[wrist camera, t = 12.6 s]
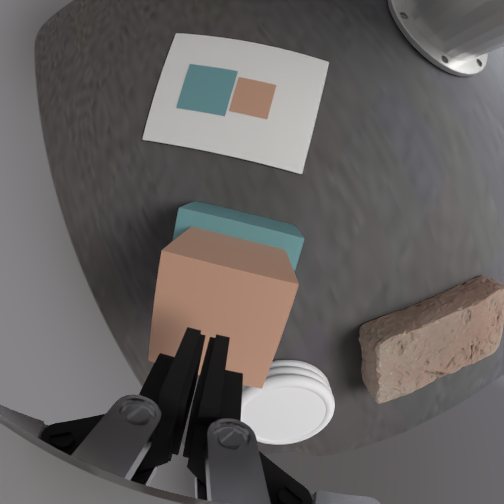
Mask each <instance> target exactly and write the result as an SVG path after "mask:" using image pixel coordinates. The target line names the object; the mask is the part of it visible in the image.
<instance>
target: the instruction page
mask: <svg viewBox="0 0 504 504" xmlns="http://www.w3.org/2000/svg"><path fill="white" fill-rule="evenodd" d="M328 65H329V62H327V61H324V60H321V59H317V58H314V57H311V56H307V55H304V54H300V53H296V52H293V51H289V50H285V49H281V48H276V47H272V46H267V45H263V44H258V43H252V42H247V41H241V40H235V39H228V38H221V37H213V36H205V35H194V34H180V33H176V35H175V37H174V40H173V42H172V45H171V48H170V50H169V53H168V56H167V59H166V61H165V64H164V67H163V70H162V73H161V76H160V79H159V82H158V85H157V88H156V92H155V95H154V98H153V102H152V105H151V109H150V112H149V116H148V119H147V123H146V127H145V131H144V135H143V139H142V140H147V141H153V142H160V143H165V144H171V145H177V146H182V147H188V148H193V149H198V150H203V151H208V152H213V153H218V154H222V155H227V156H231V157H236V158H240V159H244V160H248V161H253V162H257V163H261V164H265V165H269V166H272V167H276V168H280V169H284V170H287V171H291V172H295V173H298V174H302V172H303V168H304V164H305V160H306V156H307V152H308V149H309V145H310V141H311V137H312V133H313V129H314V125H315V120H316V116H317V112H318V108H319V104H320V100H321V96H322V91H323V87H324V83H325V79H326V74H327V70H328Z"/></svg>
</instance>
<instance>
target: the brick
mask: <svg viewBox="0 0 504 504" xmlns="http://www.w3.org/2000/svg"><path fill="white" fill-rule="evenodd" d="M503 323H504V285H503V284H500V283H499V282H497V281H496V280H493V279H491V278H489V277H486V276H478V277H476V278H474V279H471V280H468V281H467V282H466V283H465V284H464V285H457V286H455V287H454V288H452V289H449V290H447V291H445V292H443V293H440V294H437V295H435V296H434V297H432V298H428V299H426V300H424V301H422V302H420V303H417V304H415V305H412V306H409V307H407V308H405V309H403V310H400V311H396V312H393V313H390V314H387V315H385V316H382V317H380V318H378V319H375V320H372V321H369V322H367V323H365V324H363V325H362V326H360V331H359V334H360V337H359V342H360V345H361V350H362V368H361V374H362V380H363V382H364V384H365V385H366V387H367V389H368V391H369V393H371V396H372V398H373V399H374V400H375V401H376V402H377V403H378V404H380V403H384V402H387V401H390V400H392V399H396V398H398V397H401V396H405V395H407V394H409V393H412V392H413V391H415V390H417V389H420V388H422V387H423V386H425V385H427V384H429V383H431V382H432V381H434V380H435V379H436V378H440V377H442V376H444V375H446V374H451V373H454V372H456V371H457V370H460V369H461V367H464V366H468V365H470V364H473V363H475V362H477V361H480V360H481V359H483V358H485V357H487V356H489V355H491V354H492V353H494V352H495V351H496V350H497V348H498V346H499V344H500V339H501V337H502V330H503Z"/></svg>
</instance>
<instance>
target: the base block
mask: <svg viewBox="0 0 504 504" xmlns="http://www.w3.org/2000/svg"><path fill="white" fill-rule="evenodd" d="M191 226H192V227H196V228H200V229H204V230H208V231H212V232H216V233H220V234H225V235H229V236H233V237H237V238H241V239H245V240H249V241H253V242H257V243H261V244H265V245H269V246H273V247H276V248H280V249H284V250H286V252H287V255H288V257H289V260H290V263H291V265H292V268H293V270H294V272H295V269H296V266H297V262H298V259H299V256H300V252H301V249H302V246H303V242H304V239H305V238H304V237H303V236H302V234H301V233H300V232H299V230H298V229H297V228H296V227H295V225H292V224H288V223H284V222H280V221H276V220H272V219H269V218H265V217H261V216H257V215H253V214H249V213H245V212H241V211H236V210H232V209H228V208H224V207H220V206H216V205H211V204H207V203H203V202H198V201H194V202H191V203H189V204H186V205H184V206H181V207H179V209H178V214H177V219H176V224H175V230H174V235H173V241H174V240H175V239H176V238H177V237H179V236H180V235H181V234H182V233H184V232H185V231H186V230H188V229H189V228H190V227H191Z"/></svg>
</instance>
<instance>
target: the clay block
mask: <svg viewBox="0 0 504 504" xmlns="http://www.w3.org/2000/svg"><path fill="white" fill-rule="evenodd" d="M298 286H299V283H298V281H297V278H296V276H295V273H294V270H293V268H292V265H291V263H290V260H289V257H288V255H287V252H286V250H284V249H280V248H276V247H273V246H269V245H265V244H261V243H257V242H253V241H249V240H245V239H241V238H237V237H233V236H229V235H225V234H220V233H216V232H212V231H208V230H204V229H200V228H196V227H192V226H191V227H190V228H189V229H188V230H186V231H185V232H184V233H182V234H181V235H180V236H179V237H177V238H176V239H175V240H174V241H172V242H171V243H170V244H169V245H168V246H166V247H165V248H164V249H163V250H162V251H161V257H160V263H159V270H158V277H157V284H156V291H155V299H154V307H153V316H152V325H151V335H150V346H149V358H148V361H151V362H154V363H155V361H156V359H157V357H158V355H159V354H160V353H162V354H166V355H169V356H173V357H175V355H176V353H177V350H178V348H179V345H180V343H181V341H182V338H183V336H184V334H185V331H186V329H187V327H189V328H193V329H197V330H201V334H202V335H206V336H205V341H204V346H203V351H202V356H201V361H200V366H199V371H198V375H200V373H201V369H202V365H203V361H204V357H205V353H206V350H207V346H208V342H209V338H210V337H214V338H216V334H217V335H222V336H226V337H230V341H229V348H228V355H227V362H226V369H225V370H229V371H234V372H239V373H243V385H245V386H250V387H256V388H261V389H262V387H263V385H264V382H265V380H266V377H267V374H268V372H269V369H270V366H271V364H272V361H273V358H274V355H275V353H276V350H277V347H278V344H279V342H280V339H281V336H282V333H283V330H284V327H285V324H286V322H287V319H288V316H289V313H290V310H291V307H292V304H293V301H294V298H295V295H296V292H297V289H298Z"/></svg>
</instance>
